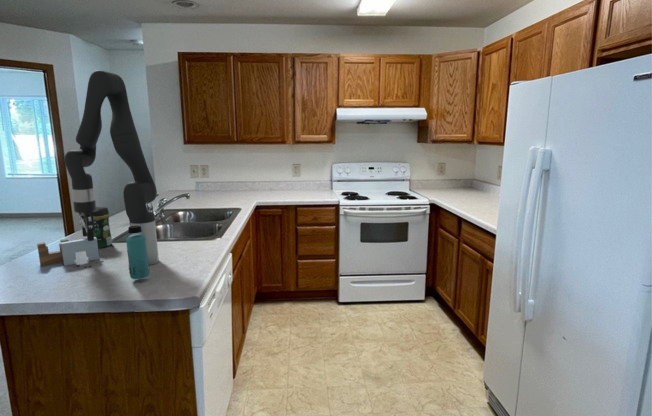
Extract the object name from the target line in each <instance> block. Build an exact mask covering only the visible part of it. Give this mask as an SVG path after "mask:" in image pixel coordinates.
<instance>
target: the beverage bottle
mask: <svg viewBox="0 0 652 416" xmlns="http://www.w3.org/2000/svg"><path fill="white" fill-rule="evenodd" d="M127 232H128V234H129V235H128V237H126V239H125V242H126V251H127V252H126V253H127V259H128V271H129V277H130V278H131V279H132V280H140V279H141V280H142V279H146V278H148V277H149V276H150V267H149V266H150V265H148V264H149V263H148V256H147V248H146V237H145V236H143V235H142V234H134V235H131V233H139V232H142V230H141V226H139V225H134V226H130V225H129V227H128V231H127Z"/></svg>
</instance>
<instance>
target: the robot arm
mask: <svg viewBox="0 0 652 416" xmlns="http://www.w3.org/2000/svg"><path fill="white" fill-rule="evenodd" d="M86 88H87V90H86V97H85V103H84V110H83V113H82V118H81V122H80V124H79V127H78V130H77V133H76V135H75V142H76V143H77V144H78V145H80V146H79V149H71V150H68V151H67V152H66V153H65V155H64V165H65V168H66V170H67V172H68V175H69V176H70V178H71V187H72V193H71V195H72V202H73V211H74V213H77V214H78V217H79V226H80V228H81V230H82V237H86V238H87V240H88V241H93V240H94V234H93V231H95V228H94V220H93V216H91V214H90V212H93V211H95V210H96V207H97V204H96V196H95V195H96V194H95V190H94V183H93V177H92V175H91V174H90V173H87V172H86V170H85V168H88V167H90V166H92V165H93V164H94V162H95V160H96V157H97V156H96V153H97V143H98V142H99V138H100V135H101V133H102V128H103V123H102V122H103V121H102V106H103V103H104V102H105V99H106V98H107V101H109V102H108V103H109V106H110V109H111V122H110V128H109V135H110V137H111V138H110V139H111V142H112V145H113V147H114V151H115V152H116V154H117V156H119V158H120V159H121V160H122V161H123V162H124V163H125V164H126V165H127V167H128V168H129V169H130V171H131V174H132V177H133V180H134V181H131V182H128V183H127V184H125V186H124V187H123V202H124V207H125V214H126V216H127V217H128V221H129V227H130V226H134V225H139V226H141V230H142V232H139V233H130V235H134V234H142V235H143V236H145V237H146V248H147V256H148V263H149V264H148V266H151V265H155V264H156V265H157V264H158V263H159V259H160V258H159V249H158V239H157V236H158V235H157V228H156V215H155V213H154V212H152V211H149V210H148V208H147V204H149V203H151V202H154V201H155V200H156V198H157V195H158V191H157V186H156V184H155V181H154V179H153V177H152V174H151V172H150V169H149V167H148V164H147V161H146V158H145V156H144V152H143V149H142V146H141V141H140V139H139V133H138V131H137V129H136V126H135V123H134V119H133V115H132V112H131V108H130V103H129V98H128V97H129V96H128V92H127V88H126V85H125V81H124V79H123V78H122V76H120V75H119V74H117V73H114V72H110V71H105V70H101V69H98V70H97V69H96V70H94V71H93V72H92V73H91V74H90V76H89V78H88V83H87V87H86ZM89 227H91V228H89Z"/></svg>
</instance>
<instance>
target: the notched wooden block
mask: <svg viewBox="0 0 652 416" xmlns="http://www.w3.org/2000/svg"><path fill="white" fill-rule="evenodd" d="M67 241H70V240H69V239H68V238H63V239H60V243H58V247H59V250H56V251H50V252H49V247H48V245H46V244H47V243H46V242H45V241H43V242H38V243H36V246H37V252H38V259H39V265H40V267H48V266H52V265H57V264H61V263H62V264H64V262H63V255H62V248H61V242H67Z"/></svg>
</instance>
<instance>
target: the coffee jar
mask: <svg viewBox="0 0 652 416" xmlns="http://www.w3.org/2000/svg"><path fill="white" fill-rule="evenodd" d="M90 214H91V216H93V220H94V228H95V231H93V234H94V237H96V238H97V245H98V249H103V248H107V247H109V246H111V245H112V244H113V237H112V234H111V229H110V222H109V221H110V211H109V209H108V207H106V206H105V207H104V206H103V207H102V206H96V210H95V211H93V212H90ZM89 228H91V227H89Z"/></svg>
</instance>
